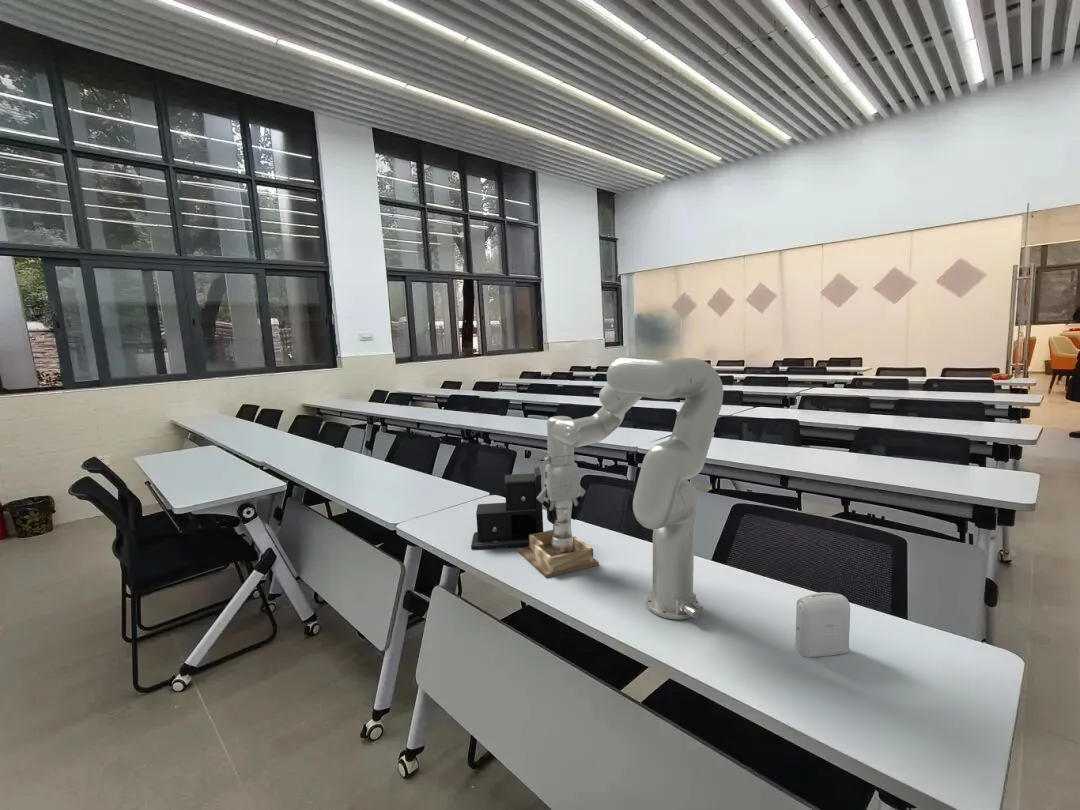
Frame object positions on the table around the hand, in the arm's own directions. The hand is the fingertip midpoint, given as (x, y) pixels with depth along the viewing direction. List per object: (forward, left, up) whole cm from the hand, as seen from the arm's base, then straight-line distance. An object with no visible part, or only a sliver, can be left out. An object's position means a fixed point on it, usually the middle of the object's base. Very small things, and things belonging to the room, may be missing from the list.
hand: (561, 519), depth 146 cm
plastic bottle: (0, 0, -10) cm, 10 cm away
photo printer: (-62, -27, -13) cm, 69 cm away
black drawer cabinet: (+23, +8, -13) cm, 28 cm away
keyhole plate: (+4, 0, -13) cm, 14 cm away
